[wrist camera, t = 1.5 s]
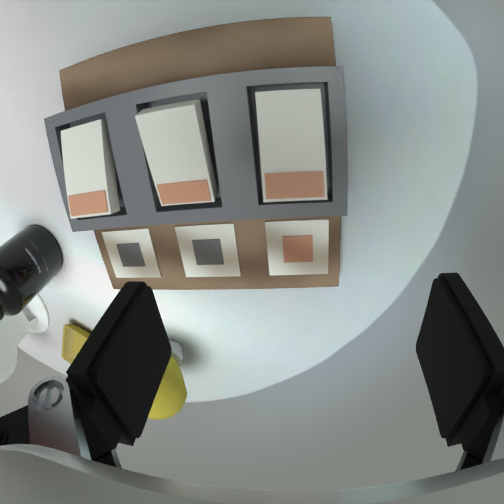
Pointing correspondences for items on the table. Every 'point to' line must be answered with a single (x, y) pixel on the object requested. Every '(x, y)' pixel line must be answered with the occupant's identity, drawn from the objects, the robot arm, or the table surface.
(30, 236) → the supplement bottle
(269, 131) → the rocker
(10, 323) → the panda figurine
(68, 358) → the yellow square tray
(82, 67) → the board
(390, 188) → the table surface
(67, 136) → the rocker
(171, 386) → the light bulb
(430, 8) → the table surface
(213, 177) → the rocker
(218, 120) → the switch housing
